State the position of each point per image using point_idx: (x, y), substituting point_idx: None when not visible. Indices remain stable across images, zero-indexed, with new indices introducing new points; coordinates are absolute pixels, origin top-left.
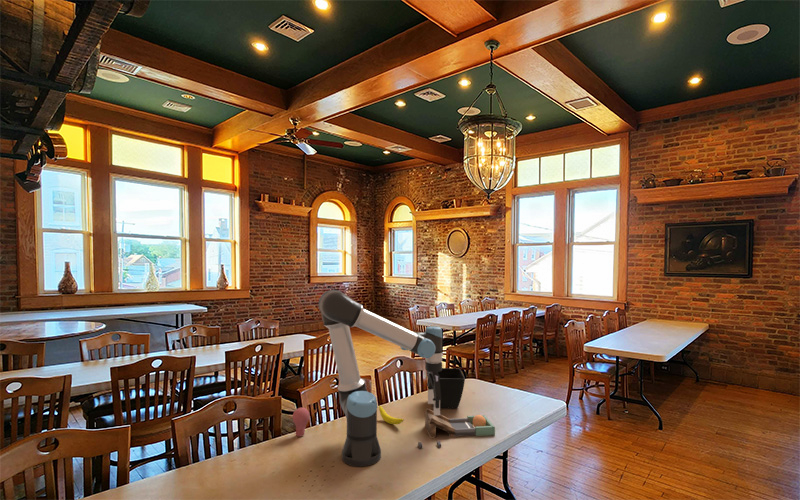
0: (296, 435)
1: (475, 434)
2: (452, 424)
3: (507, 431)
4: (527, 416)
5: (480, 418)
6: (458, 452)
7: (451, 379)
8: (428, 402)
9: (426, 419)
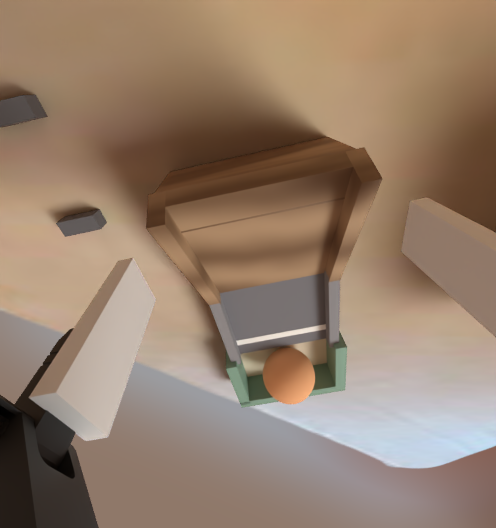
0: None
1: None
2: (300, 284)
3: None
4: (363, 433)
5: (275, 397)
6: (62, 293)
7: None
8: (419, 210)
9: (296, 158)
